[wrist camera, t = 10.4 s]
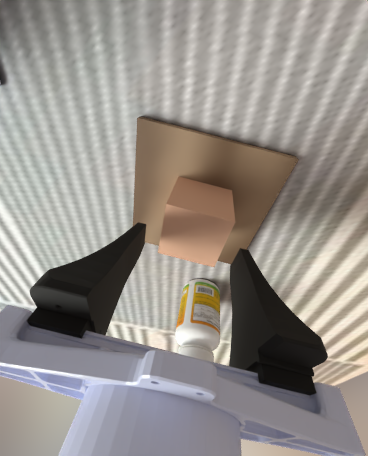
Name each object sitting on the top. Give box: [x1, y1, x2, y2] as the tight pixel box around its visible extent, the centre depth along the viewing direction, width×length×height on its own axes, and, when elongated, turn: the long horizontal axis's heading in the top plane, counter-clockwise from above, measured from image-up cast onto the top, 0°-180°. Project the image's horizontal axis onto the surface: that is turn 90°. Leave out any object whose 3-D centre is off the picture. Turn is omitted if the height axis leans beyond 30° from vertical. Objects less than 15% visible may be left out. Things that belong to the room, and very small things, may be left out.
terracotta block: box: [158, 177, 235, 267], centre depth 17 cm, size 5×5×5 cm
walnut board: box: [133, 117, 299, 264], centre depth 19 cm, size 13×13×1 cm
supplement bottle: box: [175, 279, 220, 362], centre depth 24 cm, size 5×5×10 cm
